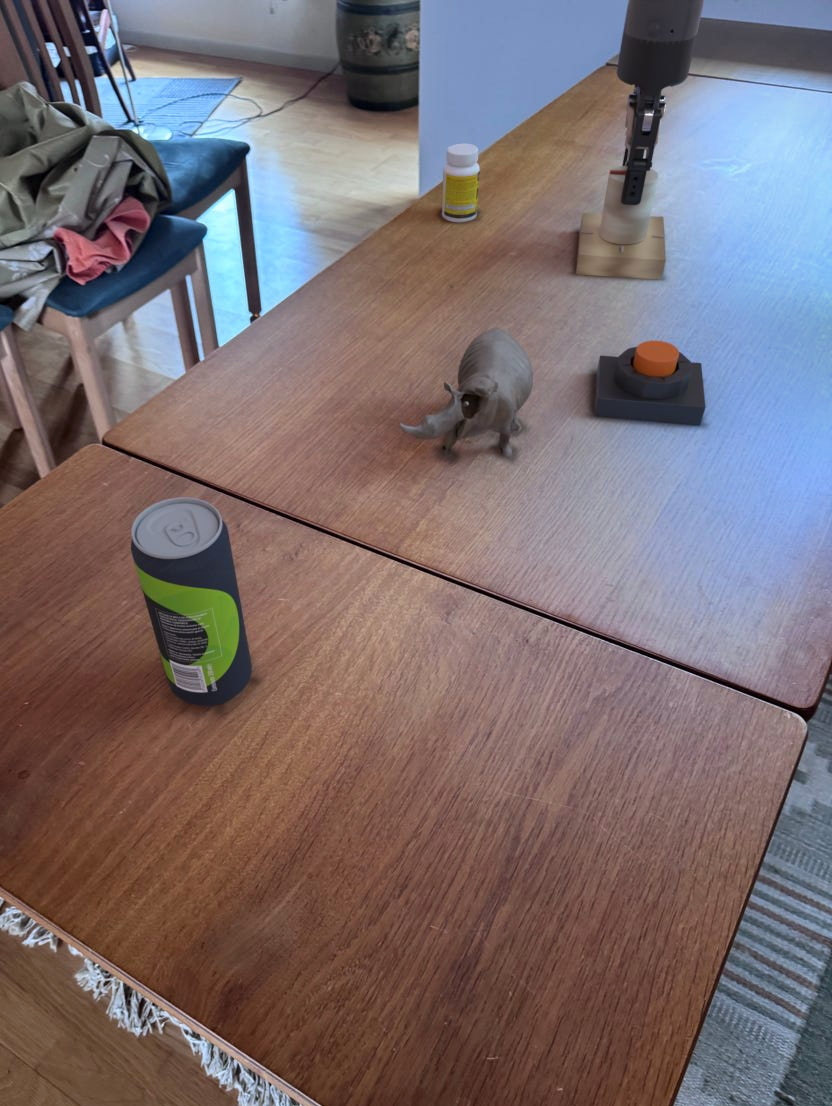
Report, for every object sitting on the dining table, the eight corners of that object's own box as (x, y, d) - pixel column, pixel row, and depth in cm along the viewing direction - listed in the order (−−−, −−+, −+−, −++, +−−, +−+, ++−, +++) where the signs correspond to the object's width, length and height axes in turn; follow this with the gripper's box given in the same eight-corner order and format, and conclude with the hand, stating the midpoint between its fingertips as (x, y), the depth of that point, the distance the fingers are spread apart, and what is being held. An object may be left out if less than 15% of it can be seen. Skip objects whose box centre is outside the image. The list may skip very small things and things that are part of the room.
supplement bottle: (482, 220, 121) (487, 152, 114) (448, 225, 120) (451, 158, 114) (468, 206, 124) (472, 139, 118) (436, 211, 123) (438, 145, 117)
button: (674, 358, 89) (678, 341, 88) (675, 379, 87) (680, 363, 85) (632, 354, 90) (636, 338, 89) (632, 376, 87) (636, 360, 86)
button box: (696, 382, 93) (706, 346, 90) (699, 426, 87) (710, 390, 85) (596, 374, 94) (602, 338, 91) (594, 417, 89) (601, 381, 86)
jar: (645, 226, 112) (658, 163, 107) (646, 246, 108) (659, 182, 103) (599, 223, 113) (609, 161, 107) (598, 243, 109) (609, 179, 104)
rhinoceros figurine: (568, 376, 89) (535, 294, 76) (519, 504, 89) (476, 444, 75) (496, 362, 93) (452, 282, 80) (448, 486, 92) (395, 425, 79)
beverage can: (268, 685, 67) (244, 531, 56) (195, 726, 65) (154, 573, 54) (226, 636, 71) (196, 482, 60) (155, 673, 68) (110, 519, 57)
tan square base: (659, 236, 116) (663, 215, 114) (661, 280, 108) (666, 258, 106) (579, 232, 117) (582, 211, 115) (575, 275, 109) (579, 253, 107)
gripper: (701, 48, 89) (664, 216, 101) (695, 9, 99) (661, 167, 111) (623, 46, 91) (595, 212, 103) (624, 8, 100) (598, 164, 112)
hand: (630, 188), depth 107 cm, fingers open, 8 cm apart
